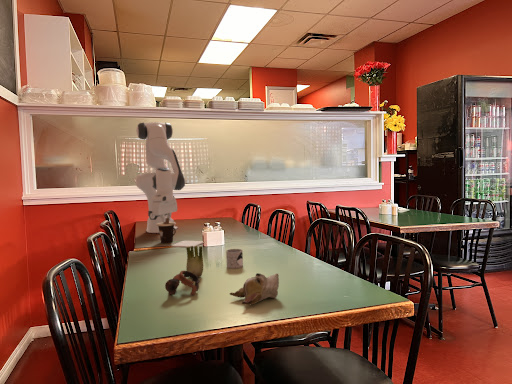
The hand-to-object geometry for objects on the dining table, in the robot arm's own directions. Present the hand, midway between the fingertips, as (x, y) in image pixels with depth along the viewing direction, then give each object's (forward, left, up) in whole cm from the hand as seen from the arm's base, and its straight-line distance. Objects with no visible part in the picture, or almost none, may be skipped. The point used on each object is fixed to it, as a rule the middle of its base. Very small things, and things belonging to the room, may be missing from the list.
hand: (166, 221), depth 205 cm
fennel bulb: (+56, +47, -12) cm, 74 cm away
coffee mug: (0, +1, -12) cm, 12 cm away
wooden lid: (0, 0, -2) cm, 2 cm away
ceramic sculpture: (+73, +77, -12) cm, 107 cm away
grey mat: (+3, +15, -12) cm, 19 cm away
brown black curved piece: (+73, +51, -12) cm, 90 cm away
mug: (+37, +56, -12) cm, 68 cm away
